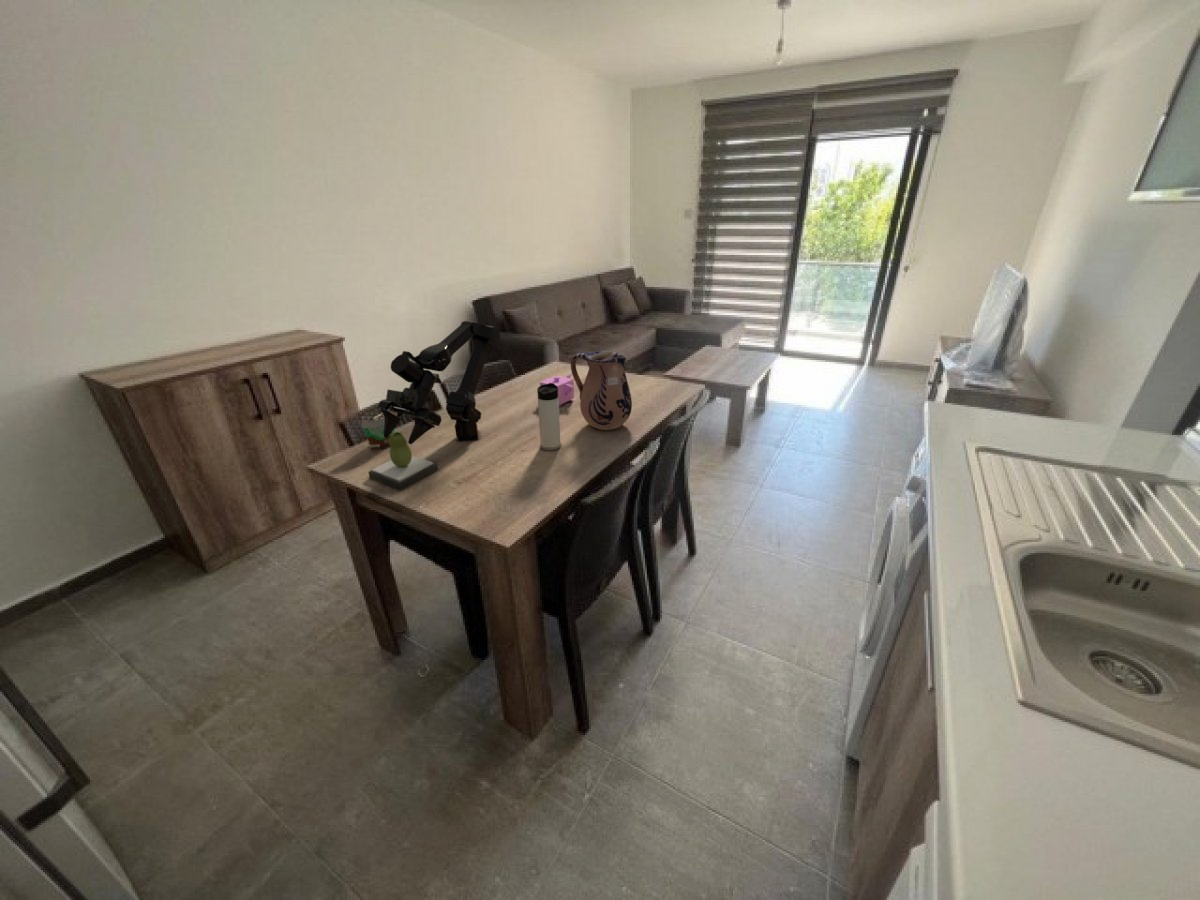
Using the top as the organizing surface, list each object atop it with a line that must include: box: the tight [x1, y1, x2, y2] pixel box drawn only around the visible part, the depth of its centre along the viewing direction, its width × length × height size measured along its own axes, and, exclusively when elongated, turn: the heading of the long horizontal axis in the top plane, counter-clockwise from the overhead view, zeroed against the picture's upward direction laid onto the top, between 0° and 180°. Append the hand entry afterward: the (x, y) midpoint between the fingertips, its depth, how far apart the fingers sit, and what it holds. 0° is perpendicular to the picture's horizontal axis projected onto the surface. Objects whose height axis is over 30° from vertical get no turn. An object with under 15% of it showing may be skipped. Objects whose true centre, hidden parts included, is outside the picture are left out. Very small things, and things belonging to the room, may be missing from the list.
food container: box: [361, 411, 396, 450], centre depth 152 cm, size 12×6×10 cm, turn 168°
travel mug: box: [536, 383, 562, 452], centre depth 147 cm, size 6×7×20 cm
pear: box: [389, 431, 413, 467], centre depth 133 cm, size 6×5×10 cm
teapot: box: [539, 373, 575, 407], centre depth 185 cm, size 18×14×10 cm
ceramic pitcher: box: [570, 350, 633, 431], centre depth 161 cm, size 18×21×25 cm
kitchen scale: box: [367, 455, 439, 491], centre depth 136 cm, size 13×13×3 cm
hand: (397, 440), depth 132 cm, fingers open, 9 cm apart
